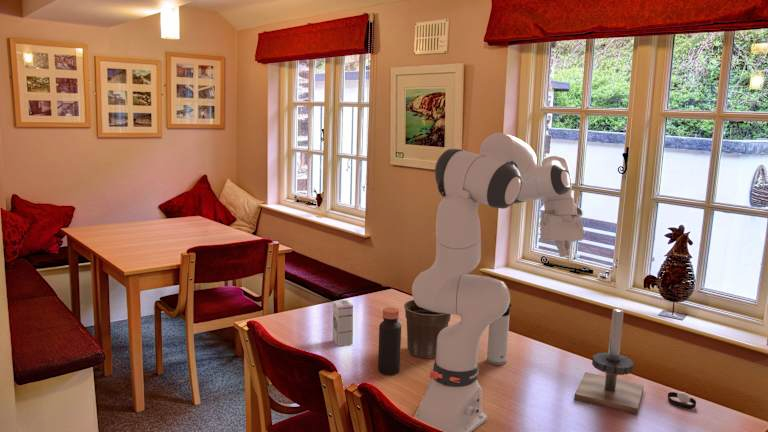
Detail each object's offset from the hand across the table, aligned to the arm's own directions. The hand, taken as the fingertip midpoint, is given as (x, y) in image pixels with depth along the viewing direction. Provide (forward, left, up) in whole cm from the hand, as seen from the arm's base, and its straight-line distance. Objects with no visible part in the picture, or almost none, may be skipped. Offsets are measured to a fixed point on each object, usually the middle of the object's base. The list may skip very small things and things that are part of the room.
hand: (564, 256), depth 190 cm
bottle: (-22, +46, -39) cm, 64 cm away
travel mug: (+3, +19, -39) cm, 44 cm away
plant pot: (-2, +42, -39) cm, 57 cm away
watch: (+2, -36, -39) cm, 53 cm away
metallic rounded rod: (-3, -17, -37) cm, 41 cm away
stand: (-3, -17, -39) cm, 42 cm away
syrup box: (-10, +70, -39) cm, 81 cm away
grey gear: (-3, -17, -30) cm, 34 cm away
